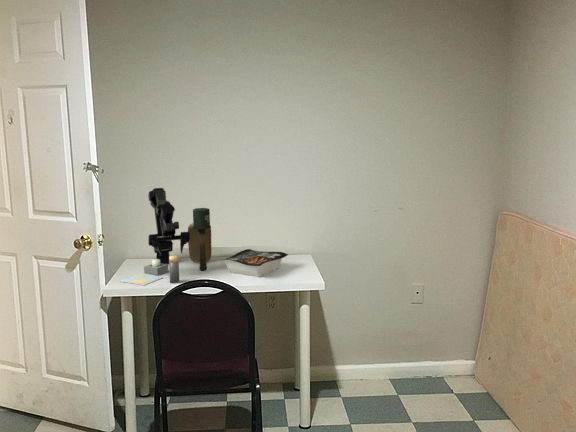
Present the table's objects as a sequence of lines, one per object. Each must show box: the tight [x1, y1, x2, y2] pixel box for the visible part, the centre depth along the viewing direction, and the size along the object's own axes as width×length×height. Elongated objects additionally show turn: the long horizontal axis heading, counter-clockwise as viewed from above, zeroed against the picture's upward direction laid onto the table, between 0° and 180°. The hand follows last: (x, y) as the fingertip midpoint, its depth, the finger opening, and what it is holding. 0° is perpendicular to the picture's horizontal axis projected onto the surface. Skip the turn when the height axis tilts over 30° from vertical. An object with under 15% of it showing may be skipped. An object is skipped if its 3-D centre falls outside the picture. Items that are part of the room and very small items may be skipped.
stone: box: [187, 222, 212, 263], centre depth 304 cm, size 12×7×20 cm, turn 99°
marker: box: [168, 254, 181, 284], centre depth 269 cm, size 4×4×12 cm
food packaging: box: [222, 248, 289, 278], centre depth 288 cm, size 25×8×23 cm
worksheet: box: [119, 273, 163, 287], centre depth 274 cm, size 13×14×1 cm
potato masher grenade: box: [192, 207, 212, 272], centre depth 287 cm, size 8×9×30 cm
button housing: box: [143, 263, 169, 277], centre depth 286 cm, size 8×8×4 cm
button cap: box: [151, 258, 160, 267], centre depth 286 cm, size 4×4×5 cm
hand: (171, 253), depth 273 cm, fingers open, 9 cm apart
